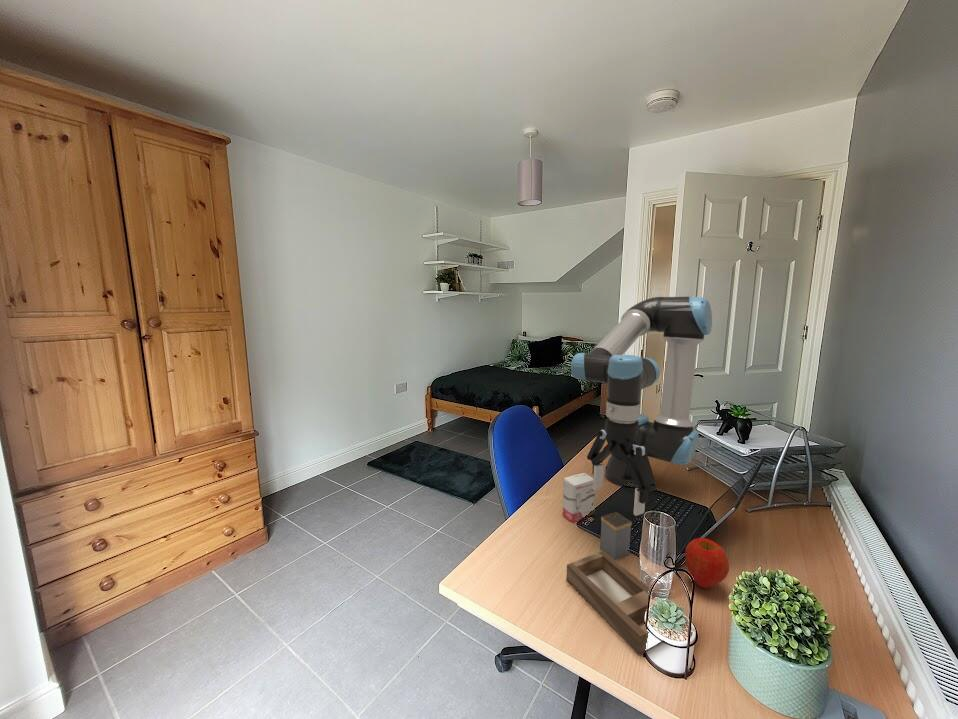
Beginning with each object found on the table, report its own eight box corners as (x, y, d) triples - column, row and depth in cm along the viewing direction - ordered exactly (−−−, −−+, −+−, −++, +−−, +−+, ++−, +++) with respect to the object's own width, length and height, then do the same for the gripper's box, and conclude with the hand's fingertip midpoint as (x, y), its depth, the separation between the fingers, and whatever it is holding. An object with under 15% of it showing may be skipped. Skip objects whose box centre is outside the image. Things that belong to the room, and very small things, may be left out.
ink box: (572, 523, 111) (573, 485, 109) (561, 514, 115) (562, 478, 113) (594, 515, 115) (596, 478, 113) (583, 507, 119) (585, 472, 117)
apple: (735, 595, 84) (740, 551, 82) (703, 604, 82) (708, 558, 80) (703, 569, 92) (707, 528, 90) (674, 575, 90) (677, 534, 88)
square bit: (614, 542, 102) (616, 511, 101) (629, 554, 98) (631, 522, 96) (599, 548, 100) (601, 517, 98) (614, 560, 95) (616, 527, 94)
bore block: (602, 565, 94) (603, 550, 93) (679, 632, 75) (681, 614, 74) (566, 580, 89) (566, 564, 88) (639, 655, 70) (640, 636, 70)
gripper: (575, 407, 102) (572, 482, 106) (654, 438, 80) (647, 530, 83) (597, 404, 105) (593, 476, 109) (678, 432, 83) (671, 522, 87)
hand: (617, 500), depth 96 cm, fingers open, 13 cm apart
